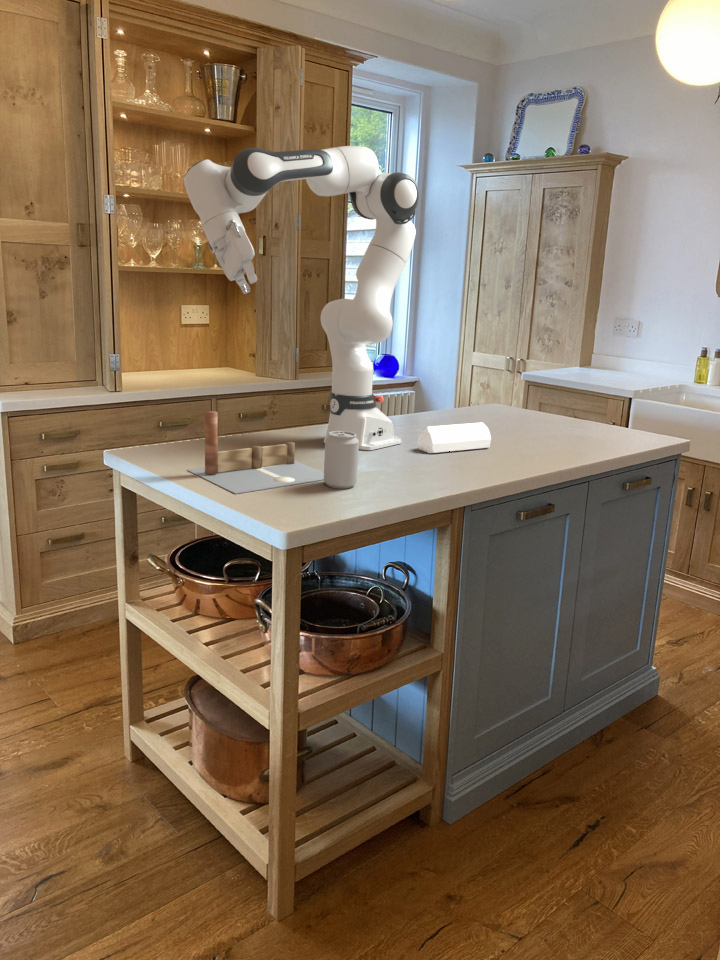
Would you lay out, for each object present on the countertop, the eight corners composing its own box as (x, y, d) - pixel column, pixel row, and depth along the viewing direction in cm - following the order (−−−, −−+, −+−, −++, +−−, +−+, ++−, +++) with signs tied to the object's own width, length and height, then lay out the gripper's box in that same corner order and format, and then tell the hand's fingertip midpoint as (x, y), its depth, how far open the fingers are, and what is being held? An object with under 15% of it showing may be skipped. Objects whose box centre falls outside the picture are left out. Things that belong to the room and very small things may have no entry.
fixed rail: (290, 461, 191) (291, 441, 190) (296, 463, 190) (296, 443, 188) (249, 466, 184) (249, 446, 183) (254, 469, 182) (254, 448, 181)
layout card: (284, 457, 196) (284, 456, 196) (337, 477, 180) (337, 477, 179) (186, 470, 179) (187, 469, 179) (235, 494, 163) (235, 493, 163)
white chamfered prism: (432, 443, 204) (500, 436, 217) (419, 425, 208) (487, 420, 221) (422, 463, 209) (489, 456, 221) (409, 445, 213) (477, 439, 225)
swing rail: (247, 465, 184) (248, 407, 180) (253, 468, 182) (254, 409, 178) (202, 472, 177) (202, 411, 173) (208, 474, 174) (208, 413, 171)
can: (327, 490, 170) (329, 436, 166) (320, 480, 176) (322, 429, 173) (360, 489, 172) (363, 436, 168) (351, 480, 178) (354, 429, 175)
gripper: (244, 212, 170) (271, 270, 172) (231, 240, 190) (255, 293, 192) (218, 221, 169) (245, 280, 170) (208, 249, 188) (232, 302, 190)
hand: (250, 287), depth 181 cm, fingers open, 8 cm apart
